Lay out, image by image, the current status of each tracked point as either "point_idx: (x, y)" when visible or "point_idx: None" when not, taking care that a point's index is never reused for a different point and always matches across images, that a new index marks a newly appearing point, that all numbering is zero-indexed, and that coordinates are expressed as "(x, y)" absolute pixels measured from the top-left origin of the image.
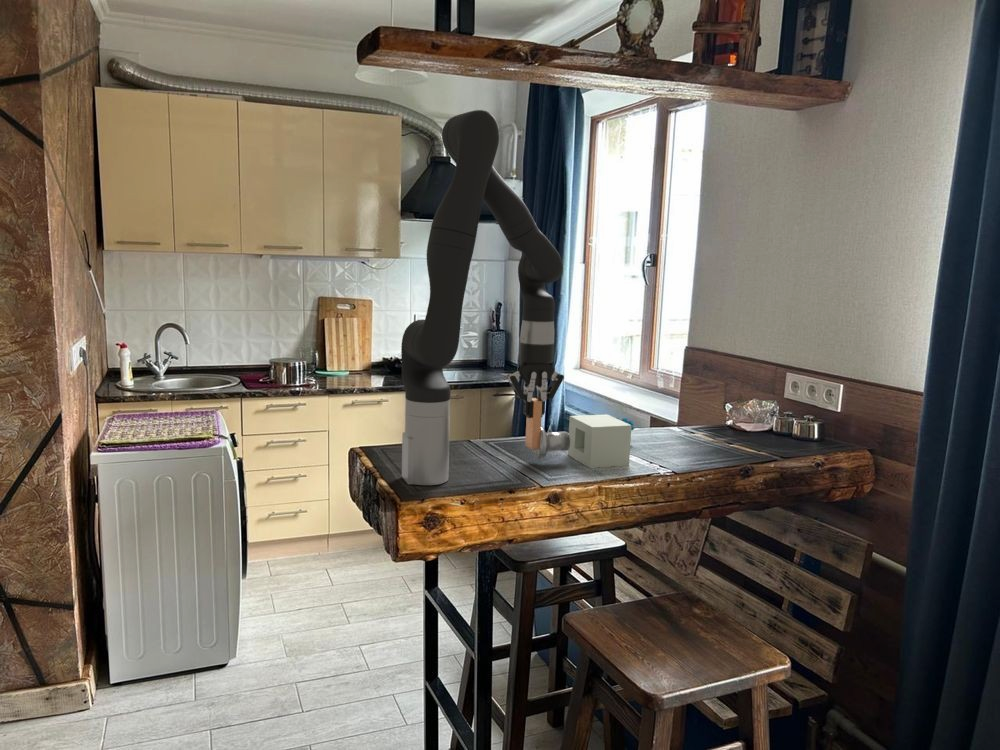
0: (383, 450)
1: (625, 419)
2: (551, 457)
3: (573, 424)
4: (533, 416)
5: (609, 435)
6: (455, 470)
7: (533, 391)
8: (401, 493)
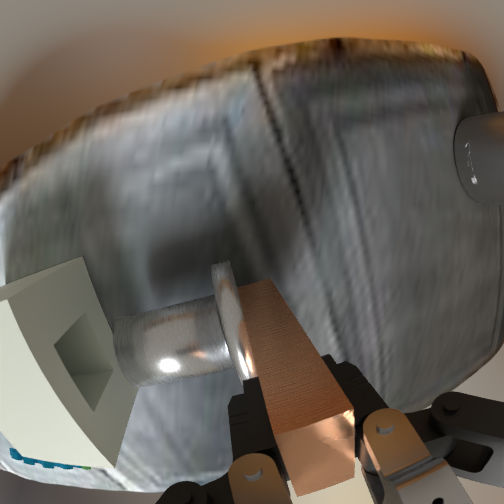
0: (491, 341)
1: (13, 456)
2: None
3: (101, 429)
4: (310, 344)
5: None
6: (441, 221)
7: (391, 480)
8: (489, 95)
